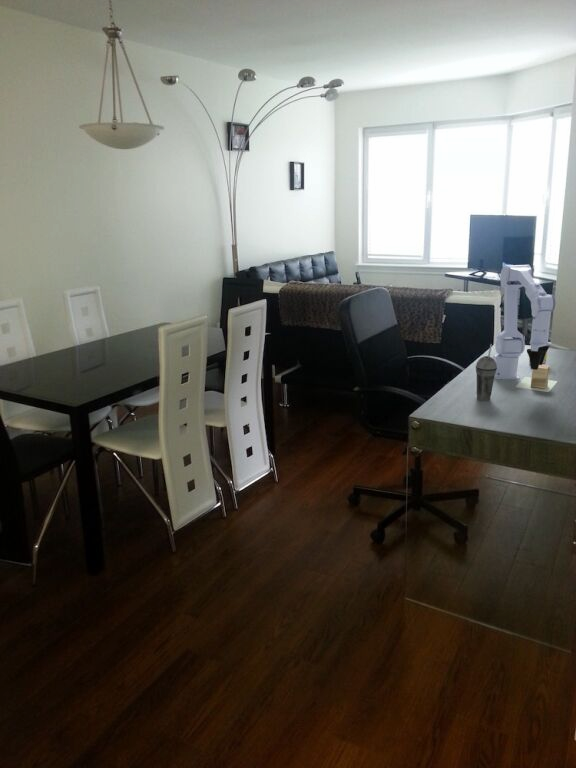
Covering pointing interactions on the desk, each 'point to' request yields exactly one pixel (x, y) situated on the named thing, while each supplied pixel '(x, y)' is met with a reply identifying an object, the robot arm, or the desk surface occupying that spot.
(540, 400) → the desk surface
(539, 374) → the tan block
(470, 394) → the desk surface
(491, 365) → the beverage cup
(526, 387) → the mat
